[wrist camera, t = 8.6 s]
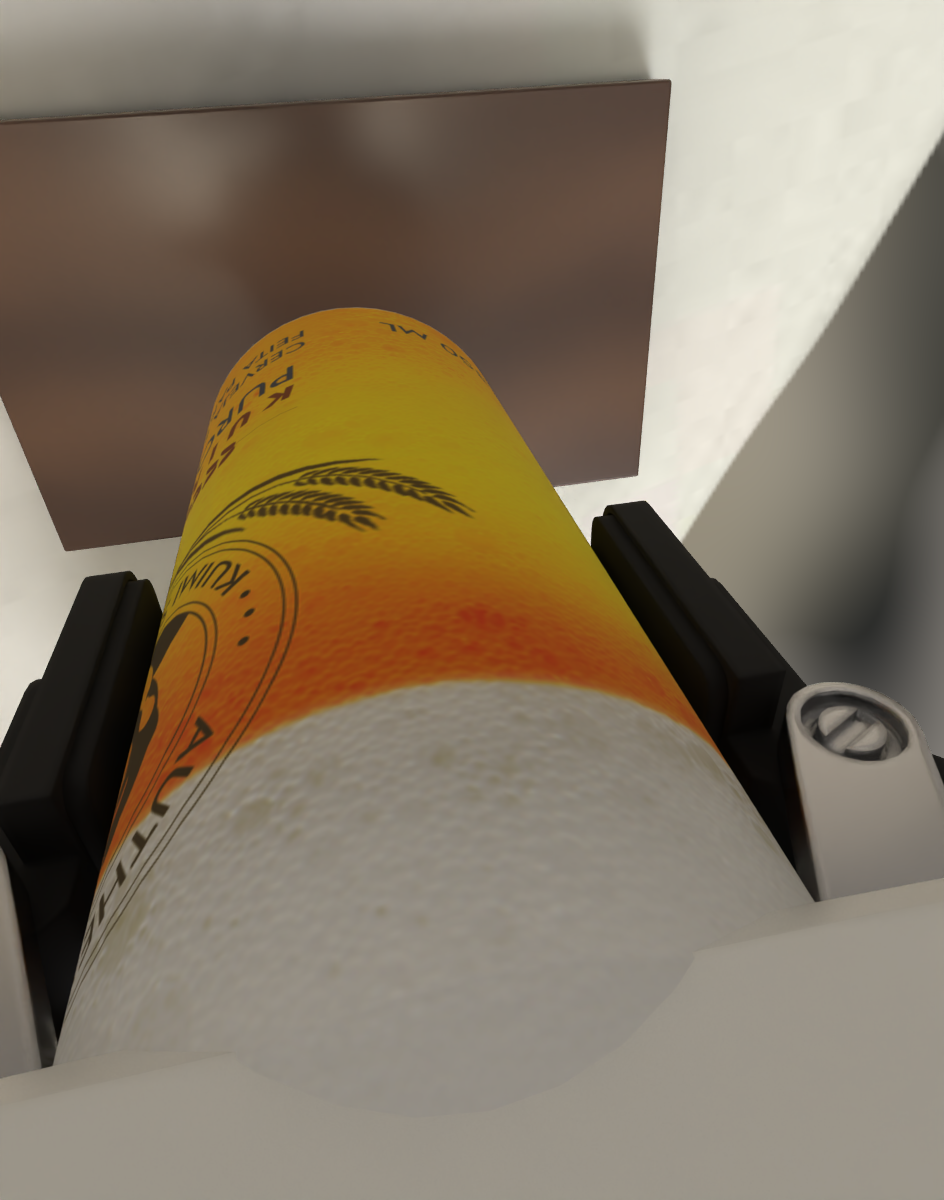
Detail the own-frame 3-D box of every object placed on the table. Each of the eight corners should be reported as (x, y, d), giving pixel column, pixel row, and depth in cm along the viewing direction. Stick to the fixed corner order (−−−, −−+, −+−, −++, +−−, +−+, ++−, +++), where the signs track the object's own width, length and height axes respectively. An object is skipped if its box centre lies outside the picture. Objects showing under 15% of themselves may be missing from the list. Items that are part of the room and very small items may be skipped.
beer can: (220, 267, 14) (-224, 1419, 2) (525, 328, 16) (1278, 1149, 4) (204, 548, 17) (-6, 1660, 5) (461, 574, 19) (756, 1453, 7)
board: (-88, 125, 20) (-113, 128, 18) (652, 79, 22) (672, 79, 21) (75, 531, 26) (64, 552, 25) (624, 460, 29) (638, 476, 28)
